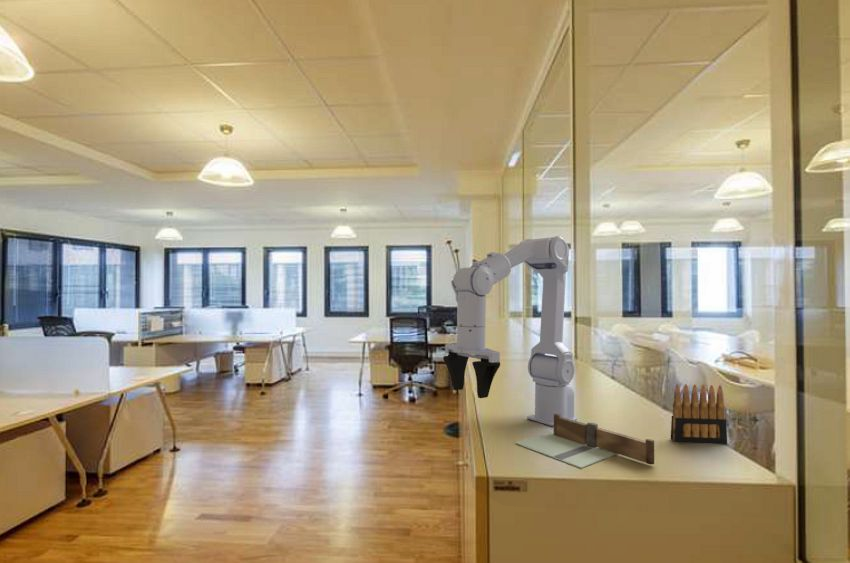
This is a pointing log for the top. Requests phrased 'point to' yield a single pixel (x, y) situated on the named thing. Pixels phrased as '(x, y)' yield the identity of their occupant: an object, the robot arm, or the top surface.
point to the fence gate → (626, 445)
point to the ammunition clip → (699, 417)
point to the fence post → (576, 430)
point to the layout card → (566, 450)
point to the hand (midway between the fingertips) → (470, 393)
